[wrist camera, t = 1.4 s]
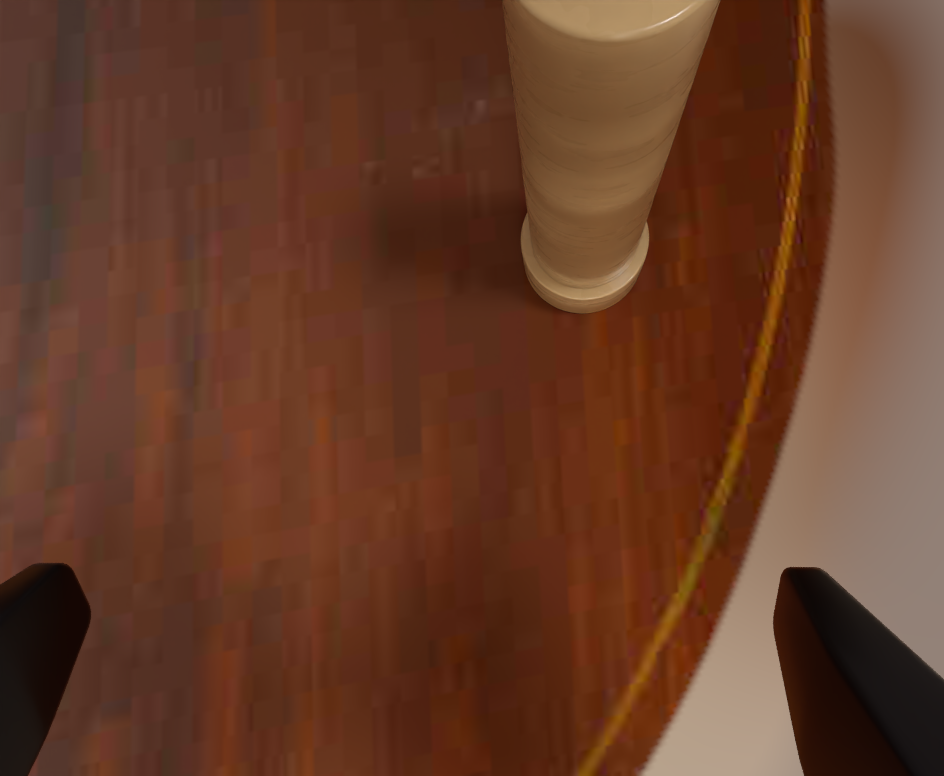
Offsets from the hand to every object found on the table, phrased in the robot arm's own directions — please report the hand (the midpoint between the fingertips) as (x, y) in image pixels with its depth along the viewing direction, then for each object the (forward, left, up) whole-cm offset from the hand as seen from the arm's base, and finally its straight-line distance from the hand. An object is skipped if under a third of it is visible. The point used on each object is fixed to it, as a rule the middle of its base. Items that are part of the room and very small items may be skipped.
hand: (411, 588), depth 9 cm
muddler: (+6, -6, -13) cm, 16 cm away
